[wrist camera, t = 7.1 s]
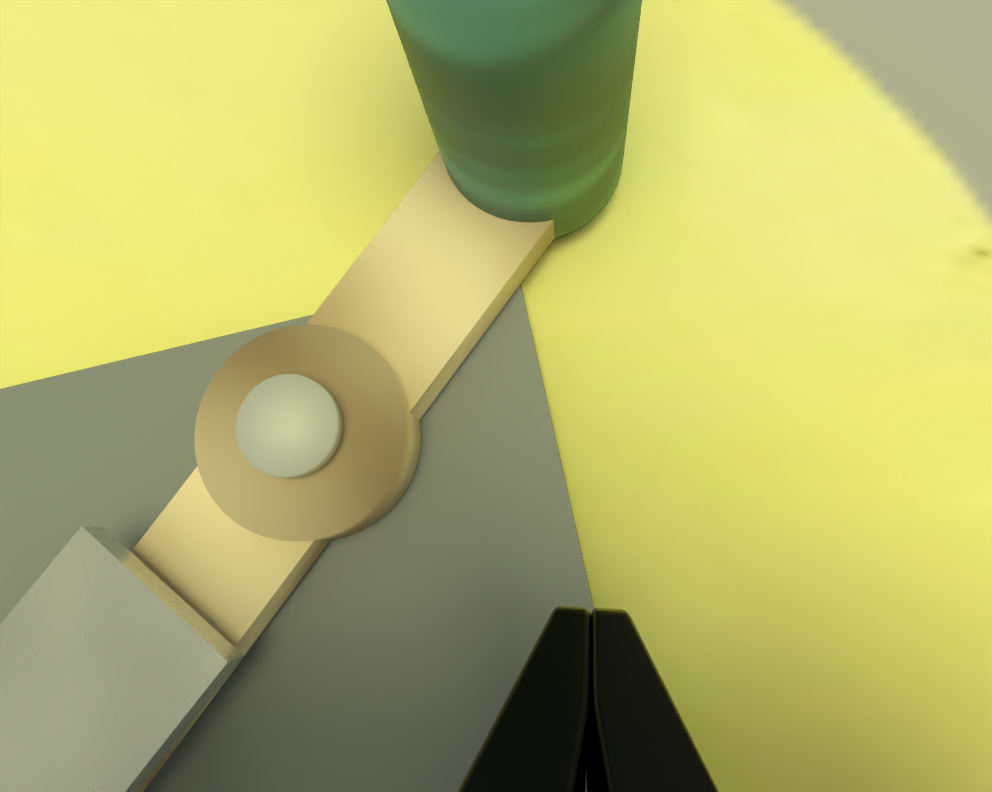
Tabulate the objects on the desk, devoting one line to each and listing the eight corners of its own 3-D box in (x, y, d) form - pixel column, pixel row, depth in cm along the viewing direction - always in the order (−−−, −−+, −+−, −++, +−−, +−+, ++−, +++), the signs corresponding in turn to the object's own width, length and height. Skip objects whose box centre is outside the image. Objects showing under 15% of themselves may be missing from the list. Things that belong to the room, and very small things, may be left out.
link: (151, 835, 16) (-1769, 2172, 3) (6, 697, 16) (-1969, 1248, 4) (665, 139, 17) (914, -1003, 4) (509, 46, 18) (344, -1133, 5)
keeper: (149, 527, 17) (81, 526, 15) (278, 644, 16) (227, 661, 14) (-39, 757, 17) (-140, 794, 14) (86, 888, 16) (-1, 950, 13)
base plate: (719, 1161, 14) (757, 1329, 11) (24, 1270, 15) (-115, 1454, 12) (518, 275, 18) (506, 221, 15) (-32, 405, 19) (-149, 380, 16)
